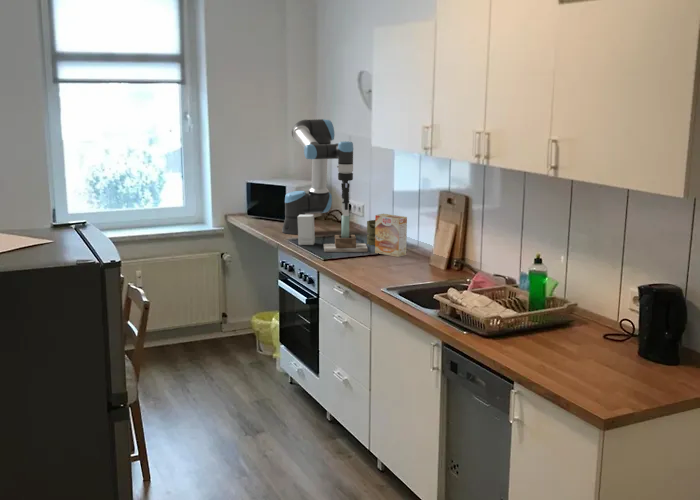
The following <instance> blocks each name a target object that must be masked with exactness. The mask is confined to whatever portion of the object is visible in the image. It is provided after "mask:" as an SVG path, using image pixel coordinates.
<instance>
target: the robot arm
mask: <svg viewBox="0 0 700 500" xmlns="http://www.w3.org/2000/svg"><path fill="white" fill-rule="evenodd" d="M291 136H292V138H293V140H294V141H296V143H299V144H300V145H301V147H303V148H302V149H303V153H304V157H305V159H306V160H311V161H312V162H311V163H312V164H311V187H309V189H308V192H307V193H306V191H305V190H295V191H290V192H287V193H286V194H285V197H284V216H285V217H284V221H283V225H282V230H281V231H282V233H283V234H288V235H298V218H297V217H298V216H299V215H307V214H323V213H325V214H326V213H328V212H329V211H330V210H331V207H332V205H333V204H332V203H333V198H332V197H333V196H332V193H331V192H330V191H329V189H328V188H327V182H328V181H327V180H328V179H327V178H328V177H327V176H328V175H327V174H328V160H334V159H337V160H338V161H337V163H338V164H337V165H336V167H337V168H338V169H337V170H338V173H337V178H338V180H339V181H341V185H340V186H341V212H342V213H343V214H342V215H343V216H349V217H350V213H349V212H350V207H349V206H350V183H349V181H353V179H354V173H353V172H354V143H353V142H352V141H346V140H345V141H344V140H343V141H341V140H340V141H339V142H338V143H331V142H332V141H334V140H335V128H334V124H333V122H332V121H331V120H330V119H325V118H321V119H320V118H319V119H301V120H299V121H297V122H296V123H295V124H294V125H293V126H292V129H291Z"/></svg>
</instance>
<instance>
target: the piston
mask: <svg viewBox="0 0 700 500" xmlns="http://www.w3.org/2000/svg"><path fill="white" fill-rule="evenodd" d="M366 233H367V234H366V245H368V244H369V245H368V246H371V245H375V219H373V220H372V219H370V220H367V221H366Z"/></svg>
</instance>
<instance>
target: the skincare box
mask: <svg viewBox="0 0 700 500" xmlns="http://www.w3.org/2000/svg"><path fill="white" fill-rule="evenodd" d="M297 218H298V234H297V236H298V237H297V239H298V245H299V246H314V245H315V243H316V240H315V239H316V238H315V236H316V235H315V233H316V232H315V215H314V214H305V215H299V216H298V217H297Z"/></svg>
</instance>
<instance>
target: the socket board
mask: <svg viewBox="0 0 700 500" xmlns="http://www.w3.org/2000/svg"><path fill="white" fill-rule="evenodd" d="M368 251H369V250H368V246H367V243H366V242H365V243H364V242H363V243H359V242H358V243H357V237H356V235H355V234H349V238H341V234H334V243H323V252H324V253H348V252H349V253H353V252H355V253H357V252H358V253H360V252H361V253H362V252H363V253H365V252H366V253H367V252H368Z"/></svg>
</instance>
